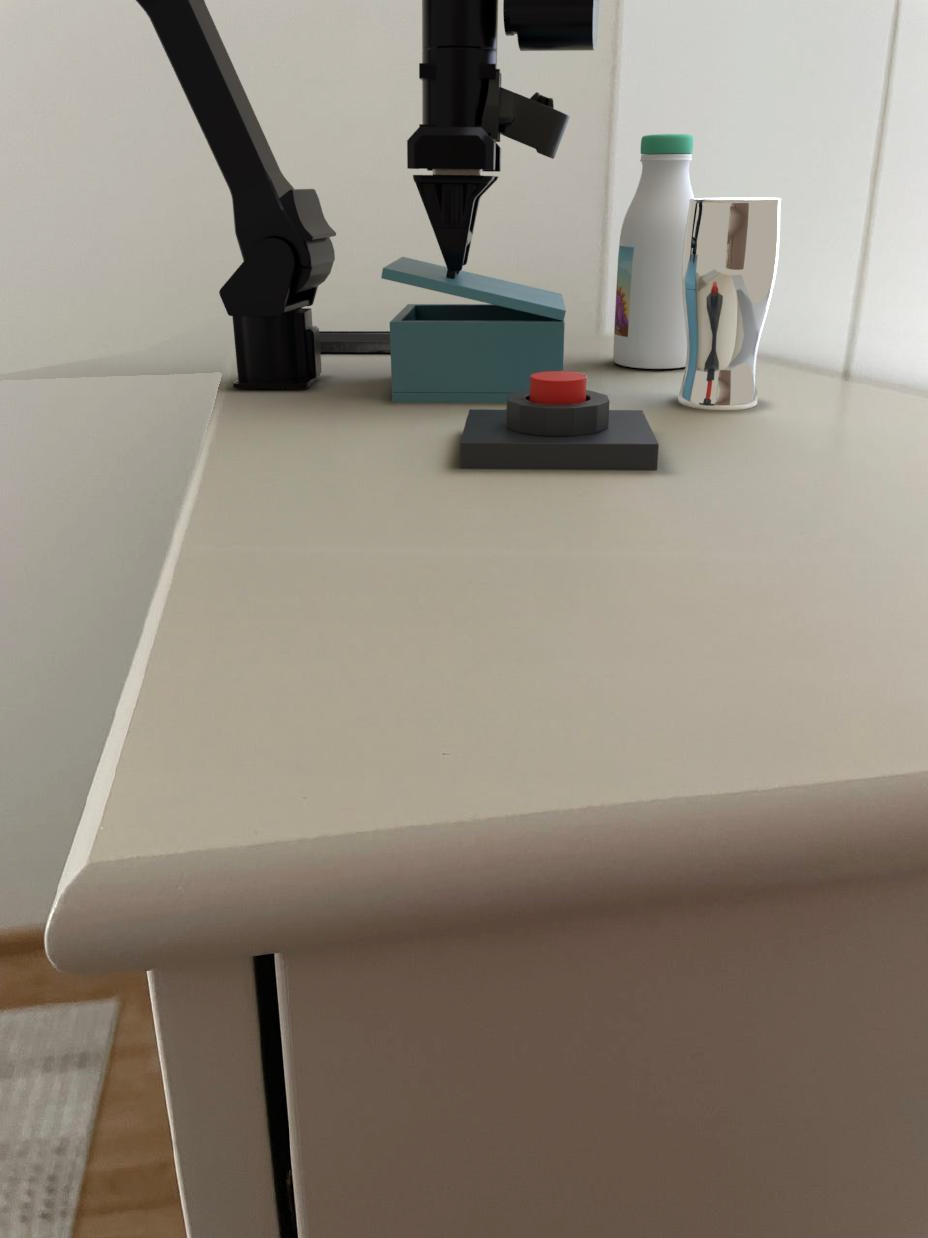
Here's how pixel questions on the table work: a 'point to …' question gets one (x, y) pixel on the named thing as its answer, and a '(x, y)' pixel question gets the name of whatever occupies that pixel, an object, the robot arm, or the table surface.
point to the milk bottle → (654, 259)
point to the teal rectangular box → (470, 352)
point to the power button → (558, 387)
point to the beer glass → (726, 297)
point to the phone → (354, 341)
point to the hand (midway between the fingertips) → (457, 267)
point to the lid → (476, 287)
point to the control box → (558, 436)
